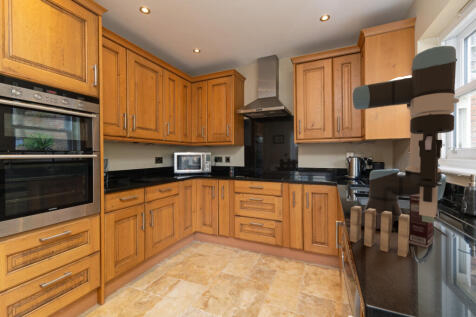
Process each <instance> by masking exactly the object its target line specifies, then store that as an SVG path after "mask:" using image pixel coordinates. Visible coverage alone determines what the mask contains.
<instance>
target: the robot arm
mask: <svg viewBox="0 0 476 317" xmlns="http://www.w3.org/2000/svg"><path fill="white" fill-rule="evenodd" d="M457 62H458V58H457V49H456V47H454V46H452V45H448V44H447V45H446V44H445V45H438V46H433V47H432V46H431V47H430V48H426V49H423V50H422V51H420V52H418V53H417V54H416V55H414V57H413V58H412V65H411V75H407V76H401V77H396V78H393V79H390V80H387V81H380V82H376V83H374V82H373V83H370V84H363V85H360V86H357V87H355V88H354V89H353V92H352V105H353V107H354V109H355V110H368V109H377V108H384V107H391V106H401V105H406V109H407V110H409V112H410V113H409V115H410V120H409V121H410V122H409V123H410V124H409V132H410V140H409V142H410V144H409V145H410V146H409V165H407V167H405V168H404V169H405V170H404V171H400V169H399V168H390V169H389V168H387V169H373V170H371V171H370V173H369V178H368V181H369V182H368V184H369V185H368V200H367V202H366V204H365V207H364V210H363V211H365V210H367V209H369V208H371V209H376V211H378V212H384V211H389V212H392V214H393V215H394V216H395V218H394V220H395V221H394V222H399V216H400V215H401V214H403V213H402V209H401V207H400V204H399V197H400V198H406V199H407V198H408V199H410V196H411V195H414V194H420V203H419V215H424V216H430V217H434V218H436V217H437V216H436V215H437V213H438V201H440V200H441V199H442V198H443V195H444V193H445V188H446V184H447V182H446V181H447V175H446V174H443V173H442V170H441V168H439V160H440V159H441V155H442V154H441V149H442V148H443V139H439V138H438V137H439V136H438V135H439V134H445V133H446V134H447V133H450V132H451V133H452V132H453V131H454V130H455V115H453V114H452V113H454V112H455V104H458V103H459V102H460V100H459V98H455V97H456V96H455V95H456V91H455V89H456V74H457V73H456V72H457V70H456V69H457Z"/></svg>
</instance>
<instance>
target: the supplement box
mask: <svg viewBox="0 0 476 317" xmlns="http://www.w3.org/2000/svg"><path fill="white" fill-rule="evenodd" d="M419 203H420V194H414V195H411V196H410V198H409V213H408V215H410V218H409V244H410V245H411V244H412V245H413V246H419V247H422V248H425V249H427V248H428V247H430V245H431V244H433V242H434V222H433V223H429V222H424V221H422V215H419Z"/></svg>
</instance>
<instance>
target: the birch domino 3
mask: <svg viewBox="0 0 476 317" xmlns="http://www.w3.org/2000/svg"><path fill="white" fill-rule="evenodd" d="M392 228H393V226H392V212H389V211H384V212H383V213H381V229H380V241H379V250H380V251H383V252H387V253H388V252H389V250H391V248H392Z"/></svg>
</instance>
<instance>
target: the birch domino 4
mask: <svg viewBox="0 0 476 317" xmlns="http://www.w3.org/2000/svg"><path fill="white" fill-rule="evenodd" d="M409 218H410V215H409V214H405V213H402V214H401V215H400V216H399V221H398V232H397V237H398V239H397V256H400V257H403V258H407V256H408V254H409V249H410V248H409V245H410V243H409Z"/></svg>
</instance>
